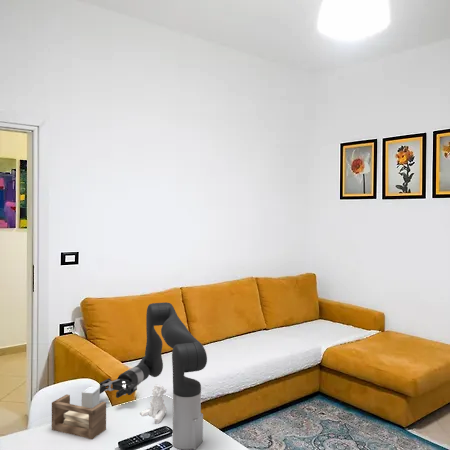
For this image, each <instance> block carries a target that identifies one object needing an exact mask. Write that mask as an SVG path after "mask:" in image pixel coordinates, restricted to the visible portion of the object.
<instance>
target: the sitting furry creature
mask: <svg viewBox="0 0 450 450" xmlns="http://www.w3.org/2000/svg"><path fill="white" fill-rule="evenodd" d="M166 392H167V389H165V388H164V386H163V385H160V384H155V385H154V387H153V388H152V398H151V400H150V401H149V404H150V408H147V409H144V410H142V411H141V412H139V415H141V417H145V416H149V417H152V418H154V424H155V425H156V424H157V425H158V424H160V423H161V421H162V420H163V418H164V417H165V415H166V412H167V407H166V404H165V403H164V401H165V400H164V398H163V396H164V394H165V393H166Z"/></svg>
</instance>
